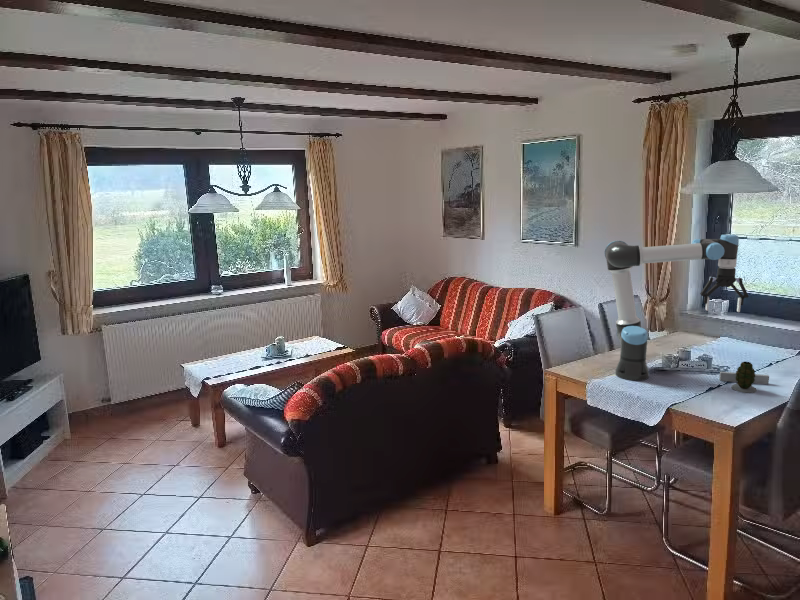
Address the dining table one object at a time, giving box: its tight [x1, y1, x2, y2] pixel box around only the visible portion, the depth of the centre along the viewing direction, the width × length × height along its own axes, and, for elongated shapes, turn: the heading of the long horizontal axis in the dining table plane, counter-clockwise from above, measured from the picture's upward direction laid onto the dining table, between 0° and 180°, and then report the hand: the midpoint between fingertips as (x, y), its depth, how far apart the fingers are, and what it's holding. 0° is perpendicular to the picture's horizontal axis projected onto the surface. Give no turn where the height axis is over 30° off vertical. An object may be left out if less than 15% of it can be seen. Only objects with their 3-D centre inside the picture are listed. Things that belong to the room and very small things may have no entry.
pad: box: [731, 383, 758, 394], centre depth 263 cm, size 10×10×1 cm
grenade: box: [735, 361, 756, 389], centre depth 262 cm, size 8×8×12 cm
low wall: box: [718, 371, 770, 385], centre depth 272 cm, size 20×2×4 cm, turn 72°
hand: (722, 310), depth 280 cm, fingers open, 13 cm apart
